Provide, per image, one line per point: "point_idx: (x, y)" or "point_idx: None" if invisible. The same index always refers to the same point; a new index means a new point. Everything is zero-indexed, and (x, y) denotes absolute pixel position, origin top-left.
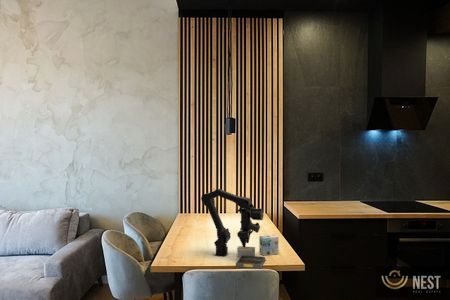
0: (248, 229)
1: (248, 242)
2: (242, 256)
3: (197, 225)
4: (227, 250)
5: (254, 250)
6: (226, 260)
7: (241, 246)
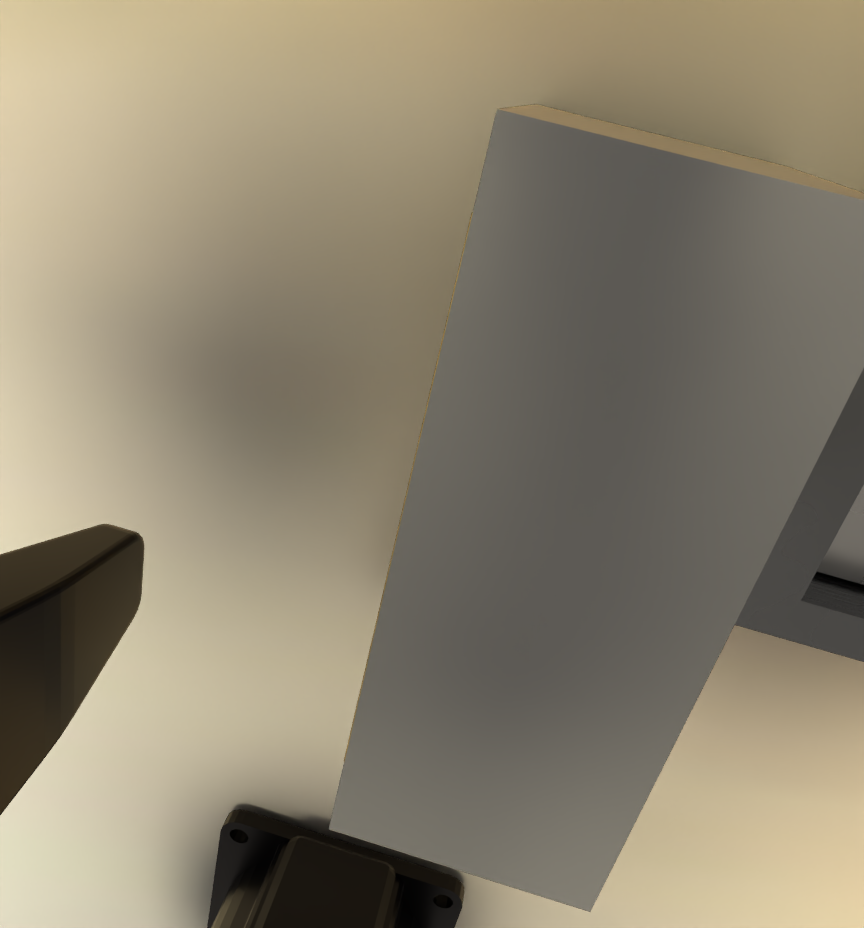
0: None
1: (111, 544)
2: (833, 604)
3: None
4: (299, 911)
5: (680, 149)
6: (798, 892)
7: (381, 755)
